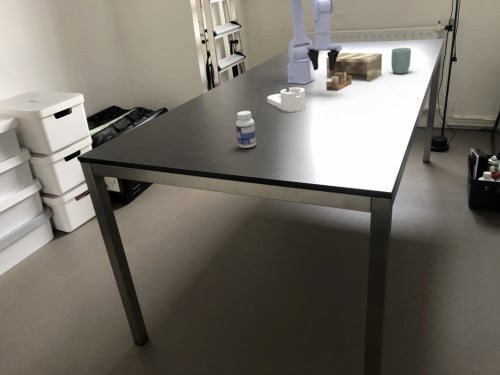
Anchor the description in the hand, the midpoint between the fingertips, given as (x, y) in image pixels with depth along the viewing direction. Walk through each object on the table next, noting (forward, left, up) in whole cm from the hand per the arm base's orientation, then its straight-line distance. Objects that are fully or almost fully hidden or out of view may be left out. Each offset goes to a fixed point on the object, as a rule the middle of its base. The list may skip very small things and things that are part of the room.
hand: (323, 70), depth 169 cm
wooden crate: (-2, +29, -9) cm, 31 cm away
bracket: (-6, -17, -10) cm, 21 cm away
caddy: (0, +12, -10) cm, 15 cm away
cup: (+14, +41, -10) cm, 44 cm away
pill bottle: (+7, -57, -10) cm, 58 cm away
